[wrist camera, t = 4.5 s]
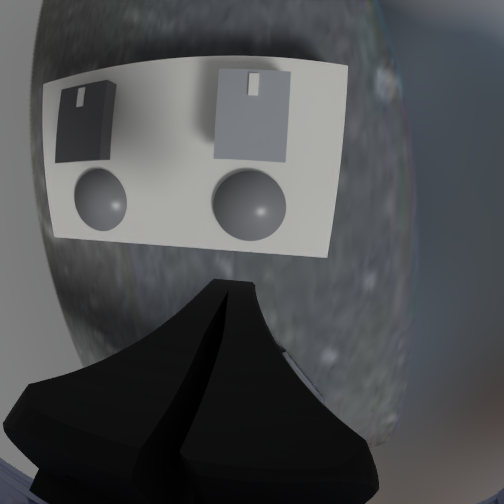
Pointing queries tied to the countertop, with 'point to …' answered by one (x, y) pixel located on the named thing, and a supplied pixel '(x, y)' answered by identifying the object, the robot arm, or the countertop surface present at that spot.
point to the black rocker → (85, 122)
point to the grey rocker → (252, 115)
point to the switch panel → (200, 162)
